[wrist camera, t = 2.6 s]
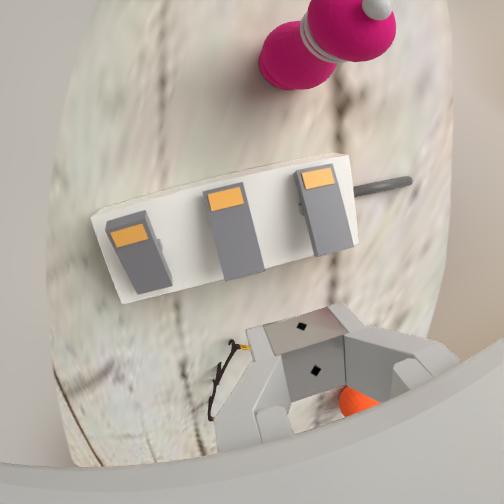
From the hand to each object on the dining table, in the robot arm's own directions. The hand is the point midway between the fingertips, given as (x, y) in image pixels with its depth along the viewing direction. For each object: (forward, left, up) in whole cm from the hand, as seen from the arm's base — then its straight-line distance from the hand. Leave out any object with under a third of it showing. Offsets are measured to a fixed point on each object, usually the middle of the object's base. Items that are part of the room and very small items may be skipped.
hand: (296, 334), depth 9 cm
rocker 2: (+3, 0, -21) cm, 21 cm away
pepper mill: (-12, +10, -28) cm, 32 cm away
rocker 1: (+3, -9, -21) cm, 23 cm away
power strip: (+4, +5, -27) cm, 28 cm away
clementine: (+37, +14, -28) cm, 48 cm away
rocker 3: (+3, +9, -21) cm, 23 cm away
